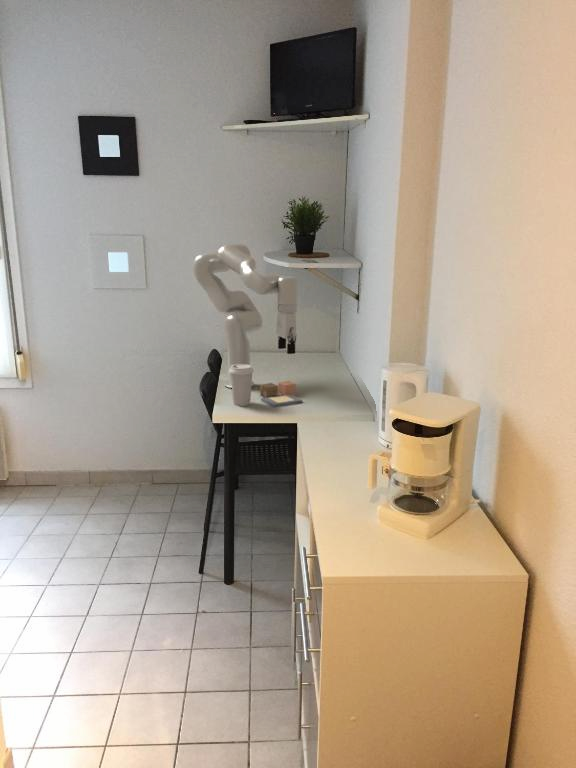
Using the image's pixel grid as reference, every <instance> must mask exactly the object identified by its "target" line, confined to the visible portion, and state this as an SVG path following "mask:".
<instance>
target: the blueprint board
mask: <svg viewBox="0 0 576 768" xmlns="http://www.w3.org/2000/svg"><path fill="white" fill-rule="evenodd" d="M260 400H261V402H263V403H265V404H266V405H269V406H270V407H272V408H277V407H283V406H289V405H295V404H302V403H303V400H302V399H301V398H298V397H297V396H296V395H294V396H293V395H291V394H287V395H280V394H279V395H277V396H274V397H267V398H263V397H261V399H260Z"/></svg>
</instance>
